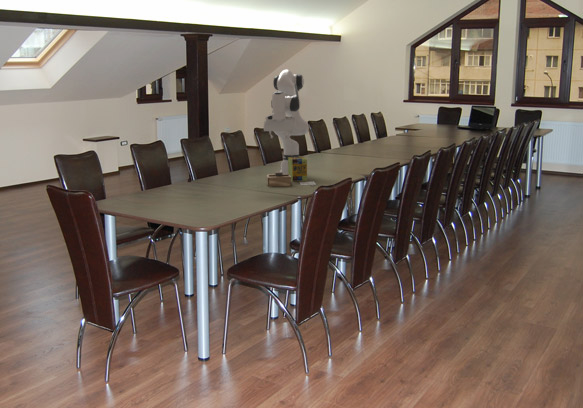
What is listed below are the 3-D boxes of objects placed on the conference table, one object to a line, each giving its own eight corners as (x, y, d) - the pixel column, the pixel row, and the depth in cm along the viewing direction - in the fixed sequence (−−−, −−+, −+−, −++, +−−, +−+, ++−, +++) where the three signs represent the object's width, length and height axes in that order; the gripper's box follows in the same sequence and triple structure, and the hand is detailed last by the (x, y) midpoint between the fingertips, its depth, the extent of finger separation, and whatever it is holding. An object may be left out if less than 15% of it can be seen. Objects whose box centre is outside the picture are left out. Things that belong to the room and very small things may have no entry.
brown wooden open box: (267, 183, 434) (267, 174, 432) (289, 183, 435) (289, 173, 433) (267, 186, 422) (267, 177, 421) (291, 186, 423) (291, 176, 422)
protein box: (292, 182, 440) (292, 159, 437) (288, 178, 454) (287, 156, 451) (307, 181, 442) (307, 158, 438) (302, 178, 456) (302, 156, 453)
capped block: (275, 183, 431) (275, 171, 430) (282, 183, 432) (281, 171, 430) (275, 185, 425) (275, 173, 423) (282, 184, 425) (282, 172, 424)
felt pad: (299, 183, 435) (299, 181, 435) (314, 182, 436) (314, 181, 436) (300, 186, 424) (300, 184, 423) (316, 185, 424) (316, 184, 424)
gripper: (294, 116, 424) (294, 137, 427) (263, 116, 423) (263, 137, 425) (295, 116, 418) (295, 138, 421) (263, 117, 417) (264, 138, 419)
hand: (279, 138), depth 423 cm, fingers open, 8 cm apart
